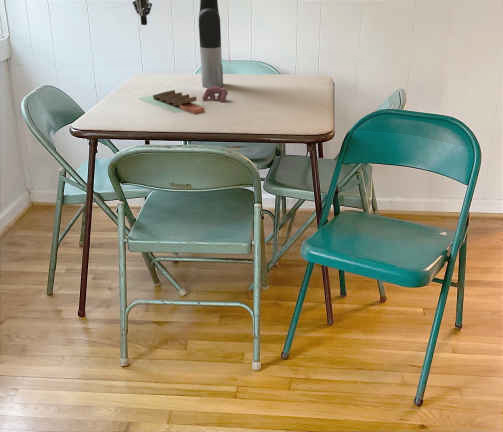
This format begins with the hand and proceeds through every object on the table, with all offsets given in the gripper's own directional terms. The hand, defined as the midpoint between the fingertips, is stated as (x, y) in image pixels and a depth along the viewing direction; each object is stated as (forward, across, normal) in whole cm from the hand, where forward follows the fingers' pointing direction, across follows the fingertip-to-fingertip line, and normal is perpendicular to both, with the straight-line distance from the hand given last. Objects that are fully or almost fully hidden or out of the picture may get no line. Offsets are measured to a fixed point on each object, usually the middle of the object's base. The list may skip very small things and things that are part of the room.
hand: (144, 24), depth 274 cm
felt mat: (+27, -31, +8) cm, 42 cm away
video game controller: (+27, -41, -7) cm, 49 cm away
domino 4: (+26, -37, +8) cm, 46 cm away
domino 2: (+26, -27, +8) cm, 38 cm away
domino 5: (+26, -42, +8) cm, 50 cm away
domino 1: (+26, -22, +8) cm, 35 cm away
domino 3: (+26, -32, +8) cm, 42 cm away
